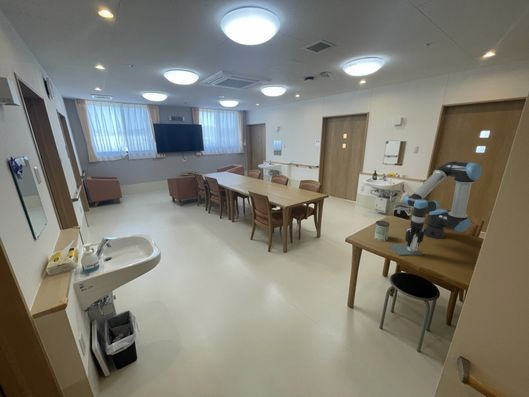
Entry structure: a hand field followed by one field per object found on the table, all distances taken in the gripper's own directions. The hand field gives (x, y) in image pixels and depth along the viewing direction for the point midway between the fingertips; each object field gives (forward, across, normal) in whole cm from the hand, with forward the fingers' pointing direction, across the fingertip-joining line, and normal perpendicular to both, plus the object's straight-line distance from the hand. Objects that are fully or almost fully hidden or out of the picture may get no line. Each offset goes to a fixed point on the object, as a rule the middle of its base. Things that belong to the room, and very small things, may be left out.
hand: (412, 250), depth 159 cm
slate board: (+2, +3, -4) cm, 5 cm away
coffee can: (+3, +10, -25) cm, 27 cm away
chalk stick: (+1, 0, 0) cm, 1 cm away
